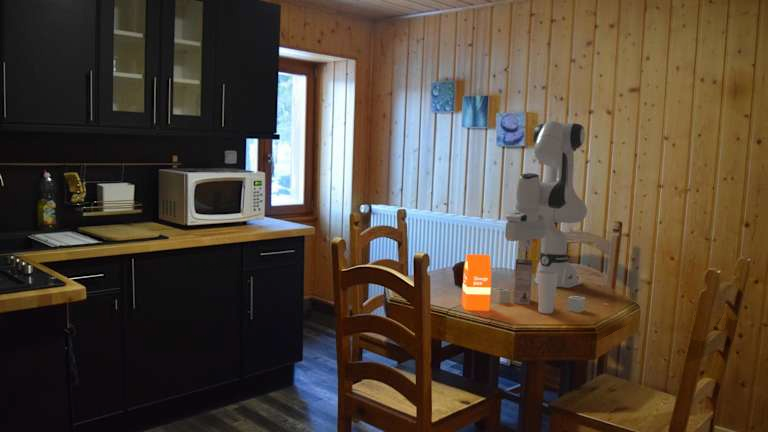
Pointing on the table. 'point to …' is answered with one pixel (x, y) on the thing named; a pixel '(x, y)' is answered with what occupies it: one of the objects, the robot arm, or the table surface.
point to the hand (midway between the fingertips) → (524, 251)
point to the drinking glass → (546, 291)
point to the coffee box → (522, 281)
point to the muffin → (458, 273)
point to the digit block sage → (500, 295)
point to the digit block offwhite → (576, 304)
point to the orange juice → (476, 282)
